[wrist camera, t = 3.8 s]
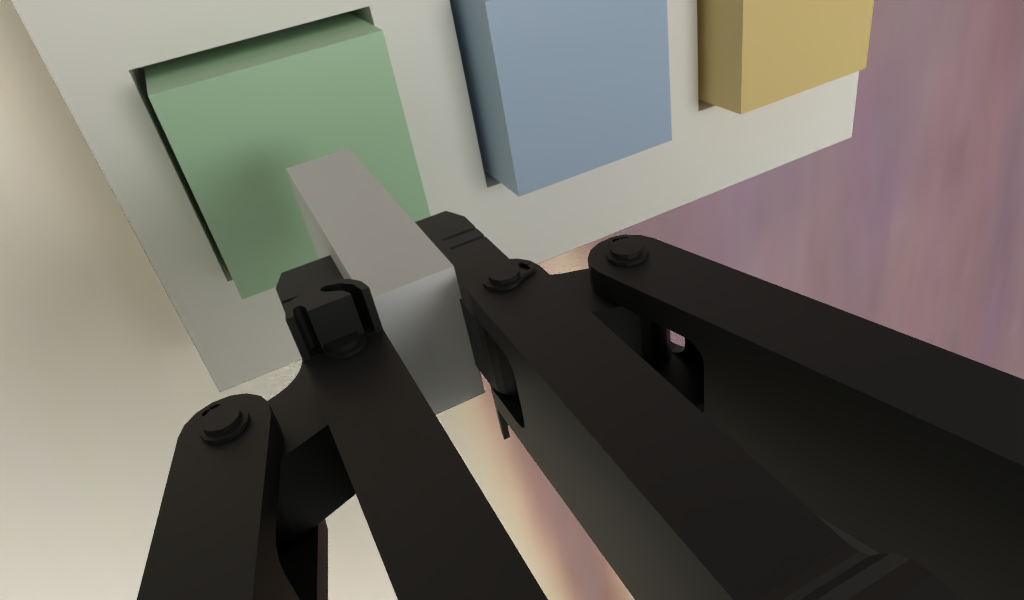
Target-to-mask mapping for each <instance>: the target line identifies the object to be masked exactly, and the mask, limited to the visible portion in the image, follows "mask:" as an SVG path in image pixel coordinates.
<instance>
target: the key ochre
mask: <svg viewBox="0 0 1024 600" xmlns="http://www.w3.org/2000/svg"><path fill="white" fill-rule="evenodd" d="M873 4H874V0H697V40H698V99H699V100H701V101H704V102H707V103H710V104H713V105H715V106H718V107H721V108H724V109H727V110H729V111H732V112H735V113H738V114H744V113H747V112H749V111H752V110H755V109H757V108H760V107H763V106H765V105H768V104H771V103H774V102H776V101H779V100H782V99H784V98H787V97H790V96H792V95H795V94H798V93H801V92H803V91H806V90H809V89H811V88H814V87H817V86H819V85H822V84H825V83H827V82H830V81H833V80H836V79H838V78H841V77H844V76H846V75H849V74H852V73H854V72H857V71H860V70H863V69H865V68H866V62H867V54H868V46H869V37H870V29H871V21H872V12H873Z"/></svg>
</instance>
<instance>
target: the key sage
mask: <svg viewBox="0 0 1024 600" xmlns="http://www.w3.org/2000/svg"><path fill="white" fill-rule="evenodd" d="M144 70H145V78H146V85H147V93H148V97H149V99H150V102H151V104H152V106H153V108H154V110H155V112H156V115H157V117H158V119H159V121H160V123H161V125H162V128H163V130H164V132H165V134H166V136H167V138H168V140H169V143H170V145H171V147H172V149H173V151H174V153H175V156H176V158H177V160H178V162H179V164H180V166H181V169H182V171H183V173H184V175H185V177H186V179H187V182H188V184H189V186H190V188H191V190H192V192H193V194H194V197H195V199H196V201H197V203H198V205H199V207H200V210H201V212H202V214H203V216H204V218H205V220H206V223H207V225H208V227H209V229H210V231H211V233H212V236H213V238H214V240H215V242H216V244H217V246H218V248H219V251H220V253H221V255H222V257H223V259H224V261H225V264H226V266H227V268H228V270H229V272H230V274H231V277H232V279H233V281H234V283H235V285H236V287H237V290H238V292H239V294H240V296H241V298H242V299H245V298H247V297H250V296H253V295H256V294H258V293H261V292H264V291H266V290H269V289H272V288H274V287H276V286H277V283H278V281H279V278H280V275H281V273H283V272H285V271H288V270H291V269H294V268H296V267H299V266H302V265H304V264H307V263H310V262H313V261H315V260H318V259H319V257H318V254H317V251H316V249H315V246H314V243H313V241H312V238H311V235H310V233H309V230H308V227H307V225H306V222H305V219H304V216H303V214H302V211H301V208H300V206H299V203H298V200H297V198H296V195H295V192H294V190H293V187H292V184H291V182H290V179H289V176H288V174H287V171H286V168H289V167H292V166H295V165H299V164H302V163H305V162H308V161H311V160H314V159H317V158H320V157H323V156H326V155H329V154H332V153H335V152H339V151H342V150H345V149H348V148H349V149H350V150H351V151H352V152H353V153H354V155H355V156H356V157H357V158H358V159H359V160H360V161H361V162H362V164H363V165H364V166H365V167H366V168H367V169H368V170H369V171H370V173H371V174H372V175H373V176H374V177H375V178H376V179H377V180H378V182H379V183H380V184H381V185H382V186H383V187H384V188H385V189H386V191H387V192H388V193H389V194H390V195H391V196H392V197H393V198H394V200H395V201H396V202H397V203H398V204H399V205H400V206H401V207H402V209H403V210H404V211H405V212H406V213H407V214H408V215H409V216H410V217H411V219H412V220H413V221H414V222H416V221H419V220H422V219H425V218H427V217H430V212H429V208H428V204H427V200H426V196H425V192H424V189H423V185H422V181H421V177H420V173H419V169H418V165H417V161H416V158H415V154H414V150H413V146H412V142H411V138H410V134H409V130H408V126H407V123H406V119H405V115H404V111H403V107H402V103H401V99H400V95H399V92H398V88H397V84H396V80H395V76H394V72H393V68H392V64H391V61H390V57H389V53H388V49H387V45H386V41H385V37H384V33H383V30H381V29H379V28H377V27H375V26H374V25H372V24H370V23H368V22H366V21H364V20H362V19H360V18H358V17H356V16H355V15H353V14H351V13H349V12H345V13H341V14H338V15H334V16H330V17H326V18H323V19H319V20H315V21H312V22H308V23H304V24H300V25H297V26H293V27H289V28H285V29H282V30H278V31H274V32H270V33H267V34H263V35H259V36H255V37H252V38H248V39H244V40H240V41H237V42H233V43H229V44H225V45H222V46H218V47H214V48H210V49H207V50H203V51H199V52H196V53H192V54H188V55H184V56H181V57H177V58H173V59H169V60H166V61H162V62H158V63H154V64H151V65H147V66H144Z"/></svg>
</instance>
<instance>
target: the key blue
mask: <svg viewBox="0 0 1024 600" xmlns="http://www.w3.org/2000/svg"><path fill="white" fill-rule="evenodd" d="M450 5H451V10H452V15H453V20H454V25H455V30H456V35H457V40H458V45H459V50H460V55H461V60H462V65H463V70H464V75H465V80H466V85H467V90H468V95H469V100H470V105H471V110H472V115H473V120H474V125H475V130H476V134H477V139H478V144H479V149H480V154H481V159H482V164H483V169H484V170H485V171H486V172H487V173H488V174H490V175H491V176H492V177H494V178H495V179H496V180H498V181H499V182H500V183H502V184H503V185H504V186H505V187H507V188H508V189H509V190H511V191H512V192H513V193H515V194H516V195H517V196H519V197H520V196H523V195H525V194H528V193H531V192H533V191H536V190H539V189H542V188H544V187H547V186H550V185H552V184H555V183H558V182H560V181H563V180H566V179H568V178H571V177H574V176H577V175H579V174H582V173H585V172H587V171H590V170H593V169H595V168H598V167H601V166H604V165H606V164H609V163H612V162H614V161H617V160H620V159H622V158H625V157H628V156H631V155H633V154H636V153H639V152H641V151H644V150H647V149H649V148H652V147H655V146H658V145H660V144H663V143H666V142H668V141H671V140H672V127H671V100H670V73H669V46H668V18H667V0H450Z"/></svg>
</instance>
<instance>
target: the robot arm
mask: <svg viewBox="0 0 1024 600" xmlns="http://www.w3.org/2000/svg"><path fill="white" fill-rule="evenodd" d="M286 171H287V174H288V176H289V179H290V182H291V184H292V187H293V190H294V192H295V195H296V198H297V200H298V203H299V206H300V208H301V211H302V214H303V216H304V219H305V222H306V225H307V227H308V230H309V233H310V235H311V238H312V241H313V243H314V246H315V249H316V251H317V254H318V257H319V259H318V260H315V261H313V262H310V263H307V264H304V265H302V266H299V267H296V268H294V269H291V270H288V271H285V272H283V273H281V275H280V278H279V281H278V283H277V286H276V291H277V294H278V296H279V299H280V301H281V304H282V306H283V309H284V311H285V320H286V322H287V325H288V327H289V329H290V332H291V334H292V336H293V339H294V341H295V343H296V346H297V348H298V350H299V353H300V355H301V357H302V365H301V369H300V371H299V373H298V374H297V376H296V378H295V379H294V380H293V381H292V382H291V383H290V384H289V385H288V387H286V388H285V389H284V390H282V391H281V392H280V393H279V394H277V395H276V396H274V397H273V398H271V399H270V400H268V401H266V400H265V399H264V398H262V397H261V396H258V395H253V394H247V393H246V394H239V395H232V396H228V397H226V398H223V399H220V400H218V401H215V402H213V403H211V404H210V405H208V406H206V407H205V408H203V409H202V410H200V411H199V412H197V413H196V414H195V415H194V416H193V417H192V418H191V419H190V420H189V421H188V422H187V423H186V424H185V425H184V427H183V429H182V431H181V433H180V435H179V437H178V440H177V444H176V448H175V452H174V456H173V460H172V464H171V468H170V471H169V475H168V479H167V483H166V487H165V491H164V495H163V499H162V503H161V507H160V511H159V515H158V519H157V523H156V526H155V530H154V534H153V538H152V542H151V546H150V550H149V554H148V558H147V562H146V566H145V570H144V574H143V578H142V581H141V585H140V589H139V593H138V597H137V600H328V528H327V524H326V520H325V518H326V517H328V516H329V515H330V514H331V513H333V512H334V511H335V510H336V509H337V508H339V507H340V506H341V505H342V504H344V503H345V502H346V501H347V500H349V499H350V498H351V497H352V496H354V495H355V494H356V495H357V498H358V500H359V503H360V505H361V508H362V510H363V513H364V515H365V518H366V520H367V523H368V526H369V528H370V531H371V533H372V536H373V538H374V541H375V543H376V546H377V548H378V551H379V553H380V556H381V558H382V561H383V563H384V566H385V568H386V571H387V573H388V576H389V578H390V581H391V583H392V586H393V588H394V591H395V593H396V596H397V598H398V600H548V599H547V598H546V596H545V594H544V593H543V591H542V589H541V588H540V586H539V584H538V583H537V581H536V579H535V578H534V576H533V575H532V573H531V571H530V570H529V568H528V566H527V565H526V563H525V561H524V560H523V558H522V556H521V555H520V553H519V552H518V550H517V548H516V547H515V545H514V543H513V542H512V540H511V538H510V537H509V535H508V533H507V532H506V530H505V529H504V527H503V525H502V524H501V522H500V520H499V519H498V517H497V515H496V514H495V512H494V510H493V509H492V507H491V506H490V504H489V502H488V501H487V499H486V497H485V496H484V494H483V492H482V491H481V489H480V487H479V486H478V484H477V483H476V481H475V479H474V478H473V476H472V474H471V473H470V471H469V469H468V468H467V466H466V465H465V463H464V461H463V460H462V458H461V456H460V455H459V453H458V451H457V450H456V448H455V446H454V445H453V443H452V442H451V440H450V438H449V437H448V435H447V433H446V432H445V430H444V428H443V427H442V425H441V423H440V422H439V420H438V419H437V417H436V414H438V413H441V412H443V411H445V410H447V409H450V408H452V407H454V406H456V405H458V404H461V403H463V402H465V401H467V400H469V399H472V398H474V397H476V396H478V395H480V394H483V393H485V391H484V387H483V382H482V378H481V374H480V371H481V373H482V374H483V375H484V377H485V378H486V379H487V381H488V382H489V383H490V386H491V390H492V394H493V398H494V403H495V407H496V411H497V415H498V419H499V424H500V428H501V431H502V434H503V437H504V439H506V438H509V437H510V435H509V431H508V425H509V426H510V427H511V429H512V430H513V431H514V433H515V434H516V436H517V437H518V438H519V440H520V441H521V443H522V444H523V445H524V447H525V448H526V449H527V451H528V452H529V454H530V455H531V456H532V458H533V459H534V461H535V462H536V463H537V465H538V466H539V467H540V469H541V470H542V472H543V473H544V474H545V476H546V477H547V478H548V480H549V481H550V483H551V484H552V485H553V487H554V488H555V490H556V491H557V492H558V494H559V495H560V496H561V498H562V499H563V501H564V502H565V503H566V505H567V506H568V508H569V509H570V510H571V512H572V513H573V514H574V516H575V517H576V519H577V520H578V521H579V523H580V524H581V525H582V527H583V528H584V530H585V531H586V532H587V534H588V535H589V537H590V538H591V539H592V541H593V542H594V543H595V545H596V546H597V548H598V549H599V550H600V552H601V553H602V555H603V556H604V557H605V559H606V560H607V561H608V563H609V564H610V566H611V567H612V568H613V570H614V571H615V572H616V574H617V575H618V577H619V578H620V579H621V581H622V582H623V584H624V585H625V586H626V588H627V589H628V590H629V592H630V593H631V595H632V596H633V597H634V599H635V600H1024V379H1021V378H1018V377H1016V376H1013V375H1010V374H1008V373H1005V372H1003V371H1000V370H997V369H995V368H992V367H989V366H987V365H984V364H982V363H979V362H976V361H974V360H971V359H968V358H966V357H963V356H961V355H958V354H955V353H953V352H950V351H948V350H945V349H942V348H940V347H937V346H934V345H932V344H929V343H927V342H924V341H921V340H919V339H916V338H913V337H911V336H908V335H906V334H903V333H900V332H898V331H895V330H892V329H890V328H887V327H885V326H882V325H879V324H877V323H874V322H872V321H869V320H866V319H864V318H861V317H858V316H856V315H853V314H851V313H848V312H845V311H843V310H840V309H837V308H835V307H832V306H830V305H827V304H824V303H822V302H819V301H816V300H814V299H811V298H809V297H806V296H803V295H801V294H798V293H796V292H793V291H790V290H788V289H785V288H782V287H780V286H777V285H775V284H772V283H769V282H767V281H764V280H761V279H759V278H756V277H754V276H751V275H748V274H746V273H743V272H740V271H738V270H735V269H733V268H730V267H727V266H725V265H722V264H720V263H717V262H714V261H712V260H709V259H706V258H704V257H701V256H699V255H696V254H693V253H691V252H688V251H685V250H683V249H680V248H678V247H675V246H672V245H670V244H667V243H665V242H662V241H659V240H657V239H654V238H650V237H646V236H642V235H620V236H615V237H612V238H609V239H607V240H605V241H602V242H600V243H598V244H597V245H596V246H595V247H594V248H593V249H591V251H590V253H589V256H588V265H589V268H588V269H583V270H578V271H573V272H568V273H562V274H554V275H549V274H548V273H547V272H546V271H545V270H544V269H543V268H541V267H540V266H539V265H537V264H536V263H534V262H532V261H530V260H524V259H518V258H516V259H509V258H508V257H507V256H506V255H505V254H504V253H503V252H502V251H501V250H500V249H498V248H497V247H496V246H495V245H494V244H493V243H492V242H491V241H490V240H489V239H488V238H487V237H484V234H483V233H482V232H480V231H479V230H478V229H476V228H475V226H474V225H473V224H472V223H471V222H470V221H469V220H468V219H467V218H466V217H465V216H462V215H458V214H455V213H452V212H449V211H444V212H441V213H438V214H436V215H433V216H430V217H427V218H425V219H422V220H419V221H416V222H414V221H413V220H412V219H411V217H410V216H409V215H408V214H407V213H406V212H405V211H404V210H403V209H402V207H401V206H400V205H399V204H398V203H397V202H396V201H395V200H394V198H393V197H392V196H391V195H390V194H389V193H388V192H387V191H386V189H385V188H384V187H383V186H382V185H381V184H380V183H379V182H378V180H377V179H376V178H375V177H374V176H373V175H372V174H371V173H370V171H369V170H368V169H367V168H366V167H365V166H364V165H363V164H362V162H361V161H360V160H359V159H358V158H357V157H356V156H355V155H354V153H353V152H352V151H351V150H350V149H349V148H348V149H345V150H342V151H339V152H335V153H332V154H329V155H326V156H323V157H320V158H317V159H314V160H311V161H308V162H305V163H302V164H299V165H295V166H292V167H289V168H286ZM670 330H671V331H673V332H675V333H677V334H679V335H681V336H683V337H685V347H682V346H679V345H677V344H675V343H673V342H671V341H670Z"/></svg>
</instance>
